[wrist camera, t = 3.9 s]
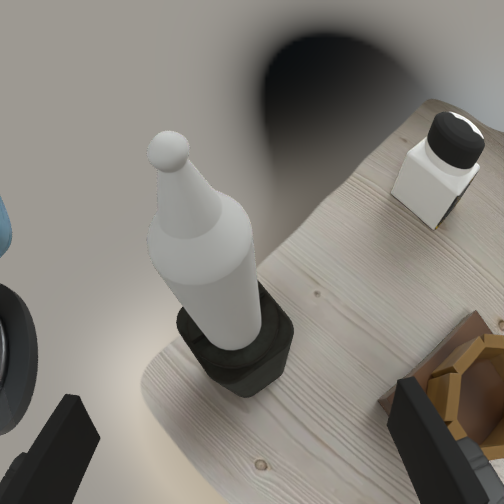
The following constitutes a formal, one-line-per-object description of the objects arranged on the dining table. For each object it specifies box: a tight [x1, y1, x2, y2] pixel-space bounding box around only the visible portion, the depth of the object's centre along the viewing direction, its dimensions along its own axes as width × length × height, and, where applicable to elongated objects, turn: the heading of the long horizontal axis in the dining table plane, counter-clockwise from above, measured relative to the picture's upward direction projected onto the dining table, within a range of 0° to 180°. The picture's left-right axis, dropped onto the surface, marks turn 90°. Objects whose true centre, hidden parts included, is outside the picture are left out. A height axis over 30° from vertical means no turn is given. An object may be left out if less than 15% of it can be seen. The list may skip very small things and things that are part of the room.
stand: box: [378, 310, 504, 460], centre depth 21 cm, size 13×13×6 cm
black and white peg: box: [147, 131, 294, 397], centre depth 16 cm, size 5×5×25 cm
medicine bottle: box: [391, 112, 485, 230], centre depth 30 cm, size 7×7×12 cm
